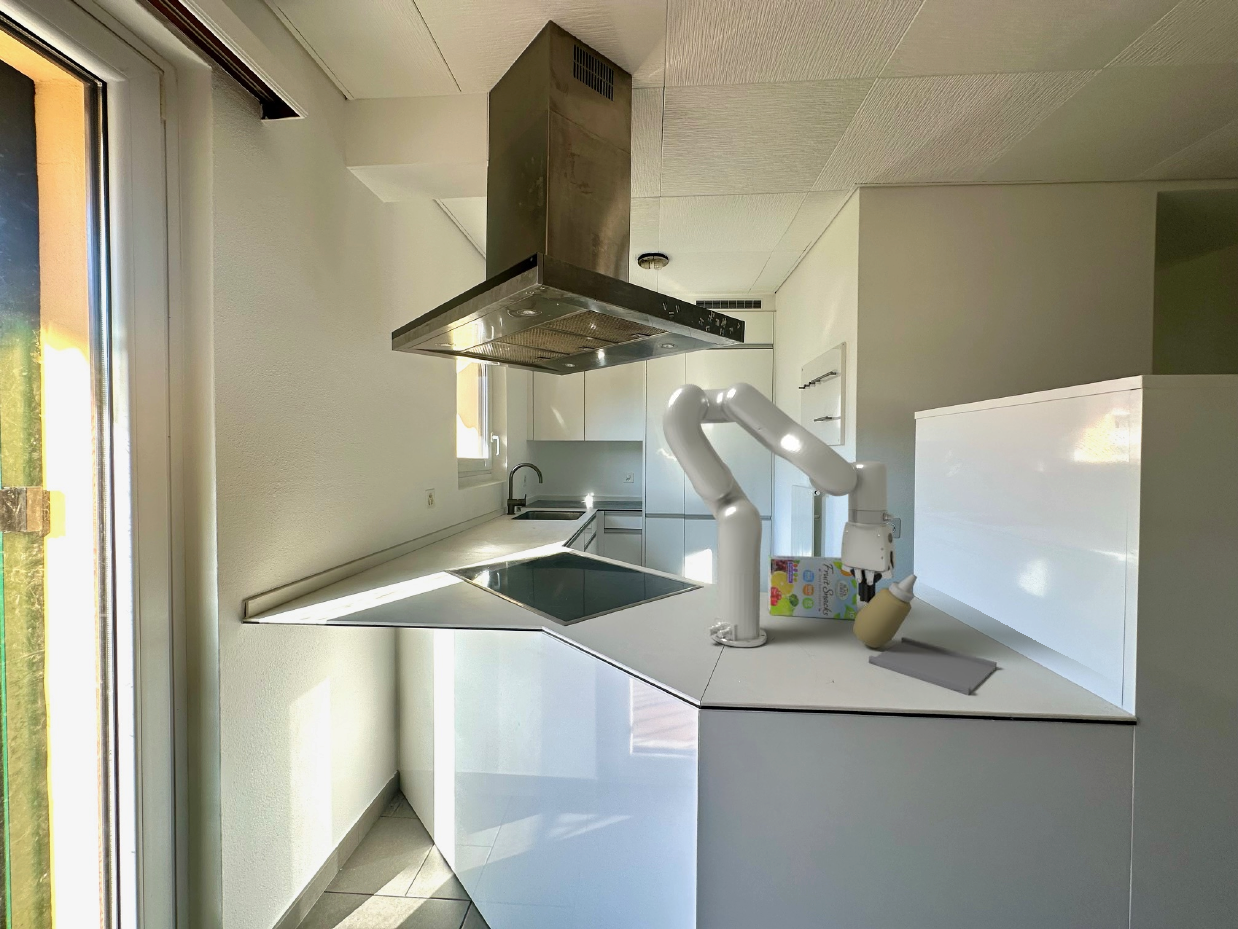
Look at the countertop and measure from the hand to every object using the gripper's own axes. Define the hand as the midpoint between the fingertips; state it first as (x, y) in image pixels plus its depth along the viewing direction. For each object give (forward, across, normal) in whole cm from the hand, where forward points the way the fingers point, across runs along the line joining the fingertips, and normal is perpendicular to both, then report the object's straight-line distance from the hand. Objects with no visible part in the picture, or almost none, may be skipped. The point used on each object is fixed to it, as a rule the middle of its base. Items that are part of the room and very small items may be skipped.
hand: (866, 600), depth 108 cm
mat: (+10, -13, 0) cm, 16 cm away
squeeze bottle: (+8, 0, 0) cm, 8 cm away
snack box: (+10, +19, -10) cm, 23 cm away
